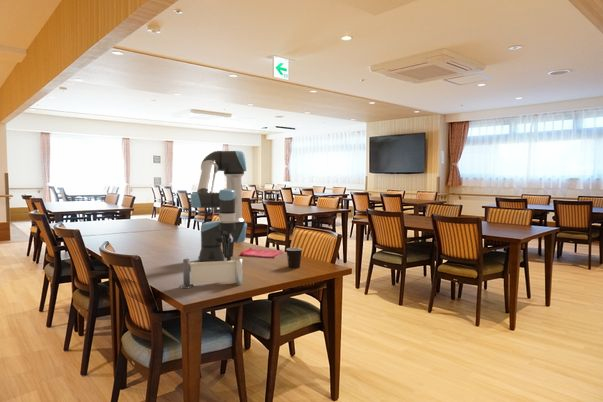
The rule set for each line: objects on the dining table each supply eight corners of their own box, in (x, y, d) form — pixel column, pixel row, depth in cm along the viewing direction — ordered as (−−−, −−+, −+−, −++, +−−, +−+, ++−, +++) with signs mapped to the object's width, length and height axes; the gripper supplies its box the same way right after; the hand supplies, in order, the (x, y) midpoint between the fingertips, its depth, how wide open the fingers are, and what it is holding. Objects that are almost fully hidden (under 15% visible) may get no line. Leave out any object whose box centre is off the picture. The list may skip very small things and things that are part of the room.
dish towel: (250, 251, 265) (250, 247, 265) (283, 253, 258) (283, 249, 258) (238, 256, 249) (238, 252, 249) (274, 259, 242) (274, 255, 242)
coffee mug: (300, 269, 215) (300, 251, 214) (284, 268, 216) (284, 250, 216) (304, 264, 226) (304, 247, 225) (289, 263, 228) (289, 246, 227)
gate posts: (179, 289, 177) (179, 263, 176) (180, 285, 184) (179, 259, 183) (242, 285, 184) (242, 259, 183) (241, 281, 191) (240, 256, 190)
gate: (183, 286, 180) (183, 260, 179) (183, 284, 182) (183, 259, 182) (239, 282, 186) (239, 257, 185) (239, 281, 189) (239, 256, 188)
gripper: (215, 220, 193) (216, 268, 195) (224, 224, 182) (224, 274, 184) (230, 219, 197) (230, 266, 199) (239, 222, 186) (240, 272, 188)
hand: (227, 270), depth 191 cm, fingers closed
